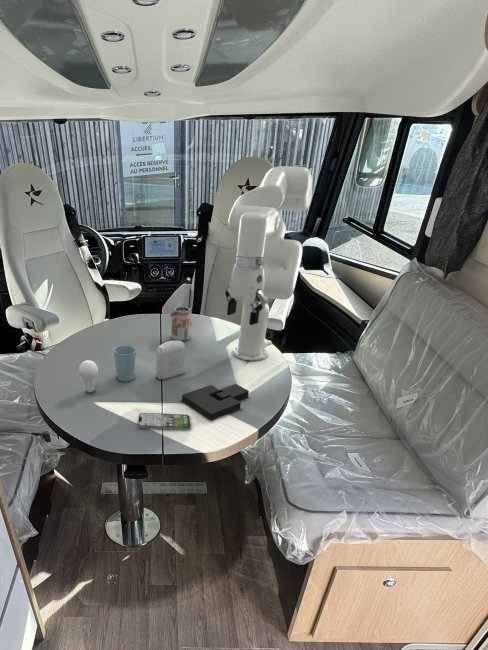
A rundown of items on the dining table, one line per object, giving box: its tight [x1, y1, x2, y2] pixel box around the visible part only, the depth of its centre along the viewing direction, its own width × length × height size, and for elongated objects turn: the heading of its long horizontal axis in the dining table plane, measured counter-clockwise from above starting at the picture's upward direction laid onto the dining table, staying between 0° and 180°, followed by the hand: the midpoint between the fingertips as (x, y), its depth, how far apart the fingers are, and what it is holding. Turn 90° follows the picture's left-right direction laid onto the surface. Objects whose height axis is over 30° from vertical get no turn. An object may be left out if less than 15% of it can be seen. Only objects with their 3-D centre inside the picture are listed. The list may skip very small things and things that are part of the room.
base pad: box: [181, 384, 242, 422], centre depth 138 cm, size 12×14×2 cm
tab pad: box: [215, 383, 250, 402], centre depth 141 cm, size 10×6×2 cm, turn 125°
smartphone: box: [138, 412, 191, 431], centre depth 130 cm, size 7×1×15 cm
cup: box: [113, 344, 137, 382], centre depth 150 cm, size 8×8×10 cm
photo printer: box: [155, 340, 186, 380], centre depth 151 cm, size 10×4×12 cm, turn 123°
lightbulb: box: [78, 359, 99, 393], centre depth 142 cm, size 6×6×11 cm
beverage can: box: [169, 306, 193, 342], centre depth 179 cm, size 9×8×12 cm
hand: (242, 318), depth 137 cm, fingers open, 9 cm apart
